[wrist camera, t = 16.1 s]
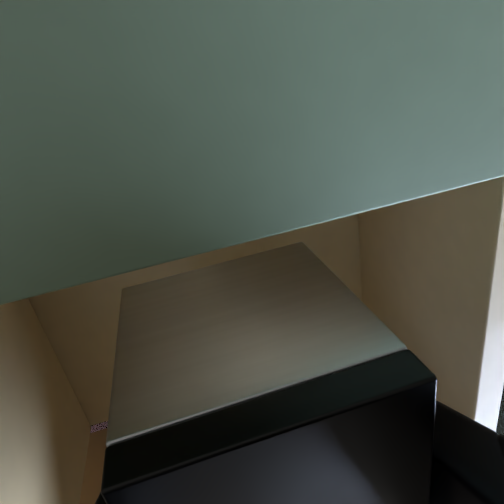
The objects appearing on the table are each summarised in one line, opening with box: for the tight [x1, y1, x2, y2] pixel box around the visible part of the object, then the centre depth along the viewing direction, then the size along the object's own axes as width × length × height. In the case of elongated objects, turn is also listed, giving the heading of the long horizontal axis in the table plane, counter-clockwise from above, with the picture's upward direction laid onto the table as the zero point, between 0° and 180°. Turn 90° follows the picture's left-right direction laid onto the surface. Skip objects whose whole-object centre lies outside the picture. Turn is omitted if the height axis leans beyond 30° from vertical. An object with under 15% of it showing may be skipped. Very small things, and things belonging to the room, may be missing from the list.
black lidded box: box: [101, 242, 437, 504], centre depth 8 cm, size 4×6×4 cm, turn 10°
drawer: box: [0, 176, 504, 504], centre depth 12 cm, size 18×13×7 cm
